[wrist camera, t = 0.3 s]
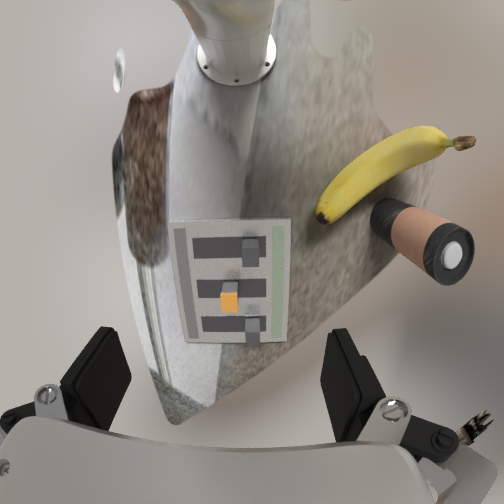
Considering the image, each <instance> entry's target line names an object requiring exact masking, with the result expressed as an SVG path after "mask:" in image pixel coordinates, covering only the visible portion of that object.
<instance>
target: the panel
mask: <svg viewBox="0 0 504 504" xmlns="http://www.w3.org/2000/svg"><path fill="white" fill-rule="evenodd" d="M167 225H168V235H169V243H170V252H171V259H172V267H173V274H174V281H175V287H176V294H177V300H178V306H179V312H180V318H181V323H182V329H183V334H184V339H185V342H210V343H246V340H245V321H246V318H259V321H260V342H281V341H287V324H288V304H289V280H290V247H291V218H290V217H265V218H225V219H197V220H175V221H169V222H168V223H167ZM243 239H258V241H259V267H242V240H243ZM234 281H238V287H239V303H238V312H229V313H222V309H221V297H220V295H221V292H222V287H223V282H234Z"/></svg>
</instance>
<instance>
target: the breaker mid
mask: <svg viewBox="0 0 504 504" xmlns="http://www.w3.org/2000/svg"><path fill="white" fill-rule="evenodd" d="M220 297H221V309H222V313H229V312H238V303H239V287H238V281H234V282H223V287H222V292H221V295H220Z"/></svg>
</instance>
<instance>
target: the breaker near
mask: <svg viewBox="0 0 504 504" xmlns="http://www.w3.org/2000/svg"><path fill="white" fill-rule="evenodd" d="M242 267H259V241H258V239H243V240H242Z"/></svg>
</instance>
